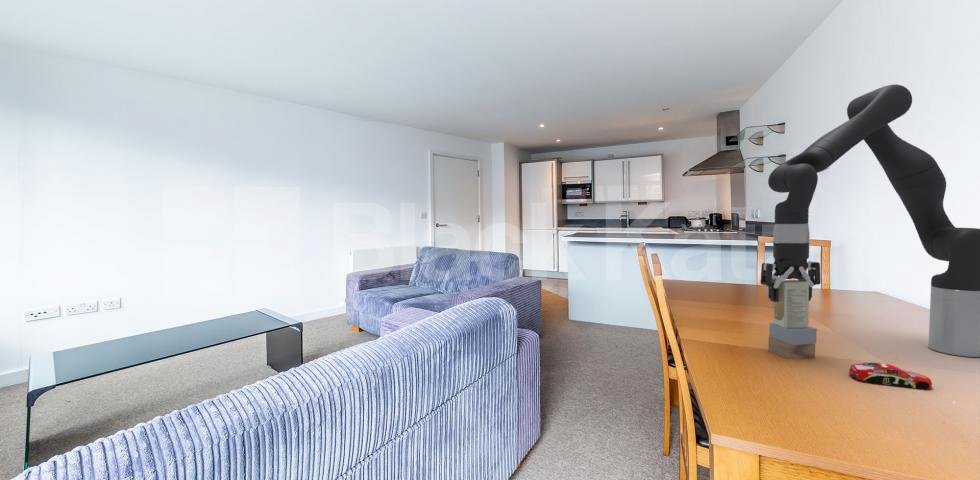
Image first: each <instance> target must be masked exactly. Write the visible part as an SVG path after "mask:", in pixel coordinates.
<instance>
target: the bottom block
mask: <svg viewBox="0 0 980 480" xmlns="http://www.w3.org/2000/svg"><path fill="white" fill-rule="evenodd" d="M767 348H768V351H769V352H772V353H774V354H776V355H779V356H780V357H783V358H784V359H787V360H807V359H808V360H814V359H816V344H802V345H790V344H787V343H785V342H782V341H779V340H777V339H774V338H772V337H769V336H768V344H767Z"/></svg>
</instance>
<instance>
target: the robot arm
mask: <svg viewBox="0 0 980 480" xmlns="http://www.w3.org/2000/svg"><path fill="white" fill-rule="evenodd" d="M912 104H913V95H912V93H911V91H910V90H909V89H908V88H907V87H905V86H904V85H901V84H888V85H885V86H882V87H879V88H877V89H874V90H872V91H869V92H867V93H864V94H863V95H860V96H858V97H855V98H854V99H852V100H851V101H850V102H849V103H848V106H847V108H846V115H847V118H848V120H847V121H845V122H844V123H842V124H840V125H838V126H836V127H835V128H833V129H832V130H830V131H828V132H826V133H825V134H823V135H821V137H819V138H818V139H817V140H815V141H814V142H813V143H811V145H809V146H808V147H806V148H805V149H804V150H803V151H802V152H801V153H799V154H798V155H795V156H793V157H792V158H790V159H788V160H786V161H784V162H783V163H781V164H779V165H778V166H776V167H775V168H774V169H773V170H772V171H771V173H770V174H769V176H768V179H767V180H768V181H767V182H768V183H767V184H768V187H769V188H770V189H771V190H772V191H773V192H776V193H779V194H781V193H783V194H784V193H788V195H787V197H786V199H785V200H784V201H781V202H778V203H776V205H775V207H774V229H773V237H772V239H773V240H772V244H773V245H772V246H773V247H772V257H773V259H774V260H773V261H774V262H772V263H768V262H762V264H761V270H760V271H761V272H760V285H763V286H766V287H767V288H768V299H769V301H770V302H772V303H774V302H778V301H779V289H778V286H779V285H780V284H781V283H782V282H784V281H785V280H800V281H804V282H809V302H811V299H812V298H813V287H814V286H816V285H820V284H821V280H822V279H821V264H820V262H817V261H808V259H809V258H810V227H809V213H810V212H809V210H810V205H811V203H812V200H813V197H814V195H815V192H816V189H817V185H818V180H819V179H818V178H819V177H818V175H819V174H818V173H821V172H823V171H825V170H827V169H828V168H829V167H831V166H832V165H833V164H834V163H836V162H837V161H838V160H839V159H840V158H842V157H843V156H844V155H845V154H846V153H848V152H849V151H850V150H852V148H854V147H855V146H857V145H858V144H860V143H861V142H862V141H864V142H865V144H866V145H867V146H868V147H869V150H870V151H871V152H872V154H873V155H874V156H875V158H876V160H877V161H878V163H879V165H880V166H881V167H882V169H883V171H884V173H885V175H886V177H887V179H888V181H889V183H890V184H891V186H892V187H893V189H894V191H895V192H896V194H897V195H898V197H899V199H900V200H901V202H902V204H903V205H904V206H903V207H904V208H905V209H906V211H907V213H908V215H909V216H910V219H911V220H912V223H913V225H914V228H915V230H916V233H917V235H918V238H919V240H920V242H921V245H922V247H923V249H924V251H925V252H926V253H927V254H928V255H929V257H931V258H933V259H935V260H939V261H943V262H948V265H947V269H946V271H944V272H942V273H937V274H934V275H933V276H931V280H930V301H929V320H928V321H929V322H928V323H929V324H928V341H927V342H928V346H927V347H928V348H929V349H931V350H933V351H936V352H939V353H944V354H948V355H953V356H960V357H969V358H980V228H979V227H978V228H975V227H956V226H955V225H954V224H953V223H952V221H951V220H950V218H949V216H948V215H947V213H946V211H945V209H944V200H945V195H946V189H947V179H946V177H945V174H944V173H943V171H942V169H941V167H940V165H939V164H938V163H937V161H936V159H935V158H934V156H932V155H931V154H929V153H928V152H927V151H925V150H924V149H922V148H919V147H917V146H915V145H914V144H911V143H909V142H907V141H906V140H904V139H902V138H901V137H899V136H898V135H897V134H896V133H895V132H894V130H893V129H892V128H891V126H890V125H889V124H890V123H892V122H894V121H895V120H897V119H899V118H901V117H902V116H904V115H906V113H907V112H908V111H910V109H911V107H912Z"/></svg>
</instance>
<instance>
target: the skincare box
mask: <svg viewBox="0 0 980 480" xmlns="http://www.w3.org/2000/svg"><path fill="white" fill-rule="evenodd" d="M778 289H779V301H778V302H773V303H774V305H773V306H774V307H773V311H774V313H773V316H774V317H773V322H774V324H777V325H779V326H781V327H784V328H808V326H809V310H810V309H809V307H810V306H809V304H810V301H809V282H804V281H800V280H797V279H786V280H785V281H784V282H782V283H781V284H780V285H779V286H778Z"/></svg>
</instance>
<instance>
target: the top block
mask: <svg viewBox="0 0 980 480" xmlns="http://www.w3.org/2000/svg"><path fill="white" fill-rule="evenodd" d="M817 331H818V330H817V328H816V327H812V326H809V325H808V328H784V327H781V326H779V325H777V324H774V321H773V322H769V335H768V338H769V337H772V338H774V339H777V340H779V341H782V342H785V343H787V344H790V345H802V344H815V345H817V337H818V336H817Z"/></svg>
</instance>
